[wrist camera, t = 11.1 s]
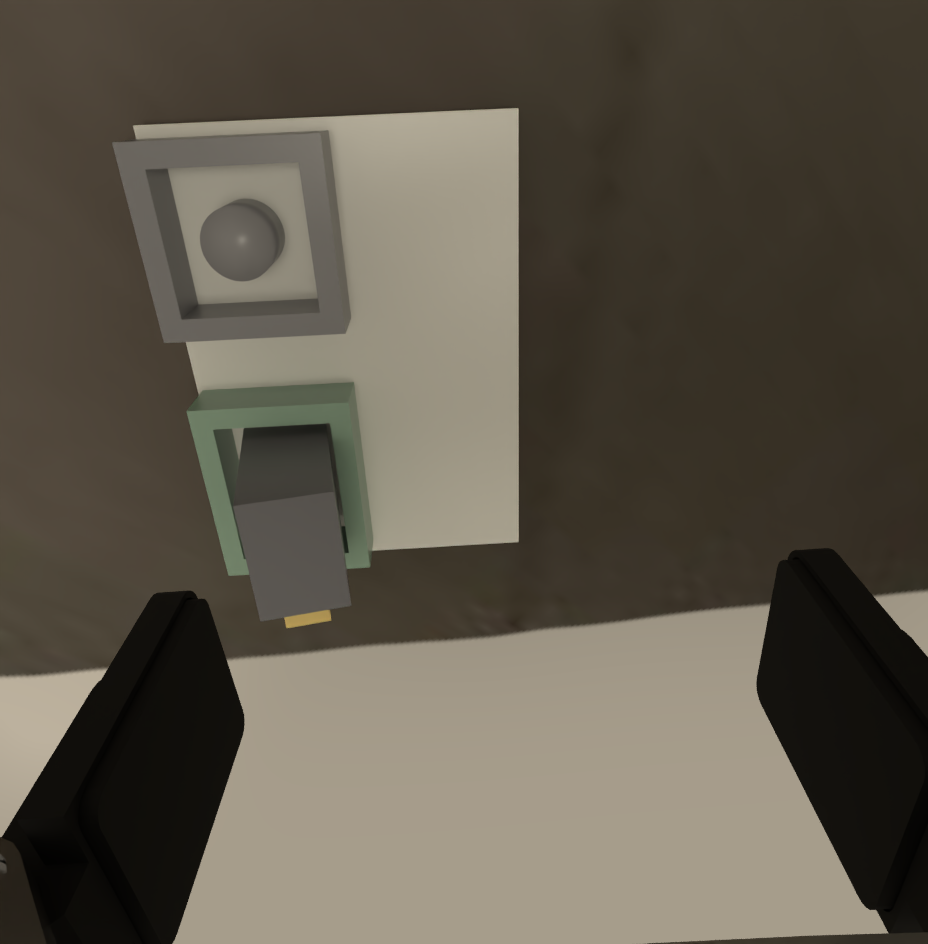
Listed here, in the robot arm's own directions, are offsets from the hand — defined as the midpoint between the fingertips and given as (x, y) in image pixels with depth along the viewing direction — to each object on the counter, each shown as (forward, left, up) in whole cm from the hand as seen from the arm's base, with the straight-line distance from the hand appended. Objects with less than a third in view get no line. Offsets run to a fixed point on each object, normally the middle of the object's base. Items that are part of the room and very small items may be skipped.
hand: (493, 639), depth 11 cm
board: (+5, +4, -25) cm, 26 cm away
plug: (+9, +9, -23) cm, 26 cm away
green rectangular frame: (+9, +9, -24) cm, 27 cm away
